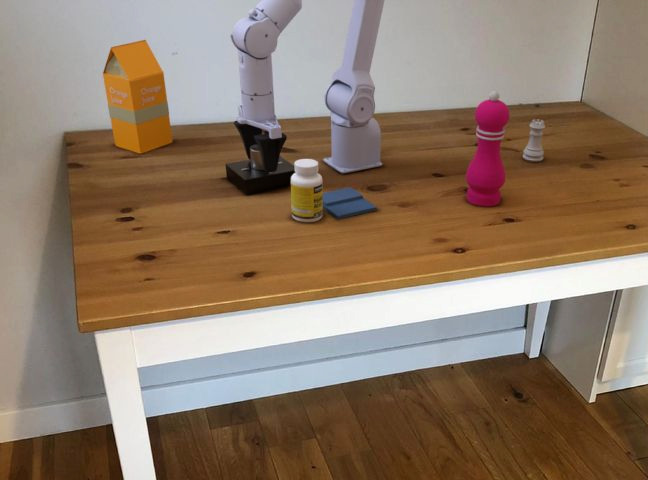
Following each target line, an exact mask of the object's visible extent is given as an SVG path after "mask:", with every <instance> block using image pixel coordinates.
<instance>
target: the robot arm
mask: <svg viewBox="0 0 648 480" xmlns="http://www.w3.org/2000/svg"><path fill="white" fill-rule="evenodd" d="M352 2H353V3H352V8H351V12H350V13H351V14H350V18H349V23H348V28H347V34H346V39H345V45H344V48H343V49H344V50H343V55H342V59H341V65H340V66H339V68H337V69H336V70H335V71H334V72H333V73H332V77H331V80H330V83H329V85H328V86H327V87H326V90H325V91H324V96H323V99H324V100H323V101H324V105H325V107H326V108H327V109H328V111H330V138H331V139H330V140H331V141H330V143H331V145H330V146H331V157H330V156H329V157H325V158H323V159H322V161H323V163H325V164H326V165H328V166H330V167H331V168H333V169H334V170H336V171H337V172H339V173H340V174H349V173H354V172H358V171H359V172H360V171H362V170H369V169H372V168H373V169H374V168H378V167H382V166H383V162H382V161H381V147H382V146H381V145H382V133H381V128H380V127H381V126H380V124H379V122H378V121H377V120H376V119H375V118H374V117H373V116H374V114H375V111H376V101H375V92H376V91H375V90H376V86H375V83H374V81H373V78H372V77H371V69H372V68H371V67H372V64H373V63H372V62H373V58H374V52H375V49H376V44H377V38H378V34H379V28H380V24H381V19H382V14H383V9H384V4H385V0H353V1H352ZM302 7H303V0H259V2H258V3H257V5H256V6H255V7H254V8H250V10H248V12H247V14H248V16H245V17H242V18H240V19H239V20H237V21H236V23H235V24H234V26H233V31H232V33H231V34H230V40H231V42H232V44H233V46H234V47H235V48H236V49H237V53H238V54H237V57H238V71H239V85H240V86H239V87H240V97H241V104H239V105H237V111H238V116H237V117H236V120H235V121H233V125H234V126H235V128H236V130H237V132H238V134H239V135H240V138H241V141H242V144H243V147H244V150H245V154H246V156H247V157H246V158H247V160H250V159H251V154H250V147H251V146H253V145H257V144H258V147H259V149H260V153H261V157H262V163H263V167H264V170H265V172H266V173H270V172H275V171H277V166H278V161H279V156H281V153H282V149H283V147H284V145H285V143H286V142H287V140H288V138H287V137H288V136H287V134H285V133H284V132H282V126H281V125H280V124H279V122H278V118H277V115H276V114H275V112H276V111H275V97H274V96H275V94H274V93H275V92H274V77H273V59H272V54H273V53H274V52H275V51H276V50H277V47H278V38H279V36H280V35H281V34H282V32H283V31H284V30H285V29H286V28H287V26H288V25H290V23H291V22H292V20H293V19H294V18H295V17H296V16H297V15H298V13H299V12H300V11H301V10H302V9H303V8H302ZM263 132H264V133H263Z"/></svg>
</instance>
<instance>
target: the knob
mask: <svg viewBox="0 0 648 480" xmlns="http://www.w3.org/2000/svg"><path fill="white" fill-rule="evenodd" d="M250 154H251V167H252V168H253V169H256V170H264V167H263V163H262V157H261V153H260V149H259V147H258V144H257V145H253V146H251V147H250Z"/></svg>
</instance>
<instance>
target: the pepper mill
mask: <svg viewBox="0 0 648 480" xmlns="http://www.w3.org/2000/svg"><path fill="white" fill-rule="evenodd" d="M499 99H500V93H499V91H497V90H492V91H491V92H490V93H489V95H488V99H486V100H485V99H484V100H483V101H481V102H480V103H479V104H478V106H477V107H476V108H475V113H474V120H475V122H476V123H477V125H478V126H477V127H476V133H475V135H476V137H477V149H476V151H475V155H474V157H473V158H472V160H471V162H470V163H469V166H468V167H467V170H466V174H465V182H466V183H467V185H468V186H469V187H468V188H467V190H466V201H467V202H468V203H470V204H472V205H475V206H478V207H494V206H497V205H498V204H499V203H500V202H501V197H502V192H501V188H502V187H504V185H505V183H506V171H505V170H506V169H505V166H504V163H503V160H502V156H501V142H502V140H503V139H504V138H505V132H506V130H505V127H506V126H507V124H508V122H509V121H510V109H509V107H508V105H507V104H506V103H505V102H504V101H502V100H499Z"/></svg>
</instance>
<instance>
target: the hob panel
mask: <svg viewBox="0 0 648 480" xmlns="http://www.w3.org/2000/svg"><path fill="white" fill-rule="evenodd" d="M294 173H296V172H295V166H294V164H292V163H291V162H289V161H288V160H287V159H285V158H284V157H282V156H281V155H280V156H279V161H278V166H277V171H275V172H270V173H266V172H265V170H256V169H253V168H252V167H251V159H245V160H239V161H235V162H228V163H225V174H226V180H228V181H229V183H231V184H232V185H234V186H235V187H236V188H237V189H238V190H239V191H240V192H242V193H243V195H245V196H249V195H255V194H259V193H265V192H270V191H276V190H280V189H284V188H288V187H289V188H290V187H291V177H292V175H293V174H294Z"/></svg>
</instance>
